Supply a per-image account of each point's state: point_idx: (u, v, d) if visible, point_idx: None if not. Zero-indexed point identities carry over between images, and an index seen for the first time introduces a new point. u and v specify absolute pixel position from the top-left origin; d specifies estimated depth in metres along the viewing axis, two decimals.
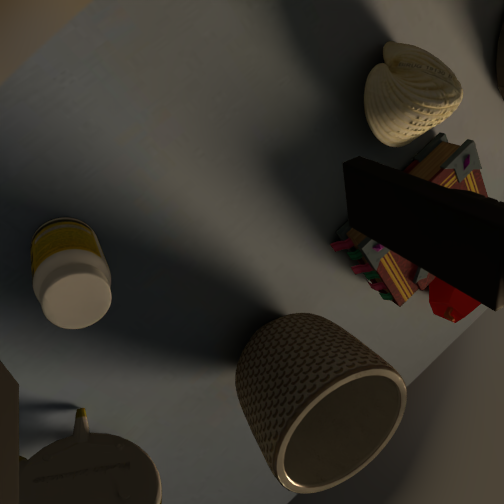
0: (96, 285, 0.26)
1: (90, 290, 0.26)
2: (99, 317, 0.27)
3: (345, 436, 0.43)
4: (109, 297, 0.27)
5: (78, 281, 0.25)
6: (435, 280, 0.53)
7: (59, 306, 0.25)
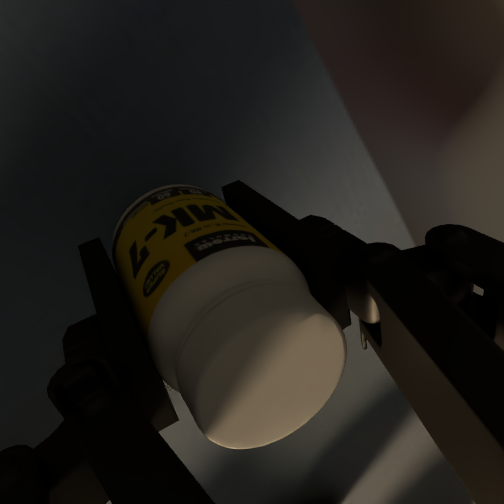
0: (305, 409, 0.11)
1: (297, 401, 0.10)
2: (218, 438, 0.10)
3: None
4: (267, 442, 0.11)
5: (326, 374, 0.10)
6: None
7: (278, 348, 0.09)
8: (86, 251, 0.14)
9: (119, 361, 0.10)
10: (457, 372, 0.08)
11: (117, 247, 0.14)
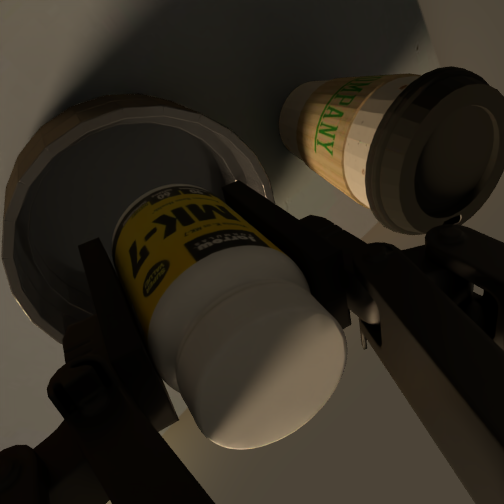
0: (305, 410, 0.11)
1: (297, 401, 0.10)
2: (218, 439, 0.10)
3: None
4: (267, 442, 0.10)
5: (326, 374, 0.10)
6: None
7: (278, 347, 0.09)
8: (86, 251, 0.14)
9: (119, 361, 0.10)
10: (457, 372, 0.08)
11: (117, 247, 0.14)
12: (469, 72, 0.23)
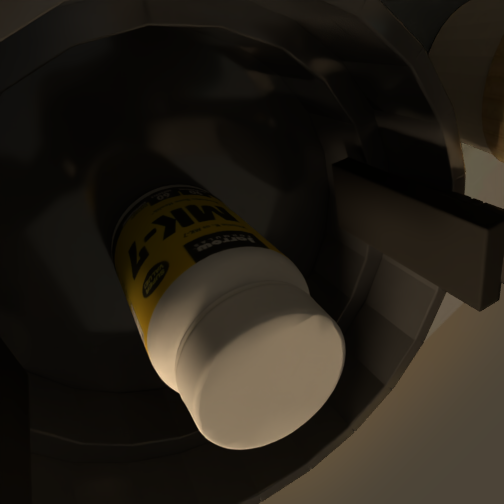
0: (304, 410, 0.11)
1: (296, 402, 0.10)
2: (217, 439, 0.10)
3: None
4: (266, 442, 0.11)
5: (325, 375, 0.10)
6: None
7: (277, 349, 0.09)
8: None
9: None
10: None
11: (116, 247, 0.14)
12: None
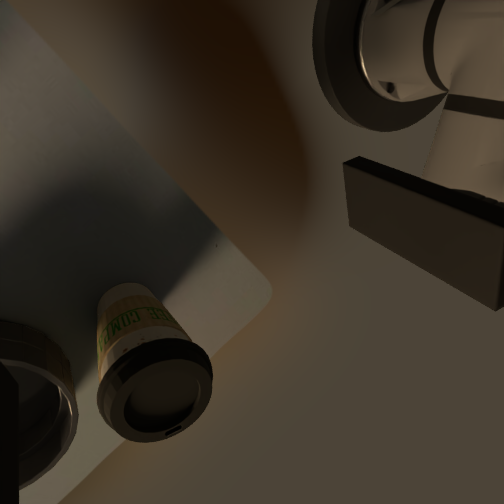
0: None
1: None
2: None
3: None
4: None
5: None
6: None
7: None
8: None
9: None
10: None
11: None
12: (165, 344, 0.34)
